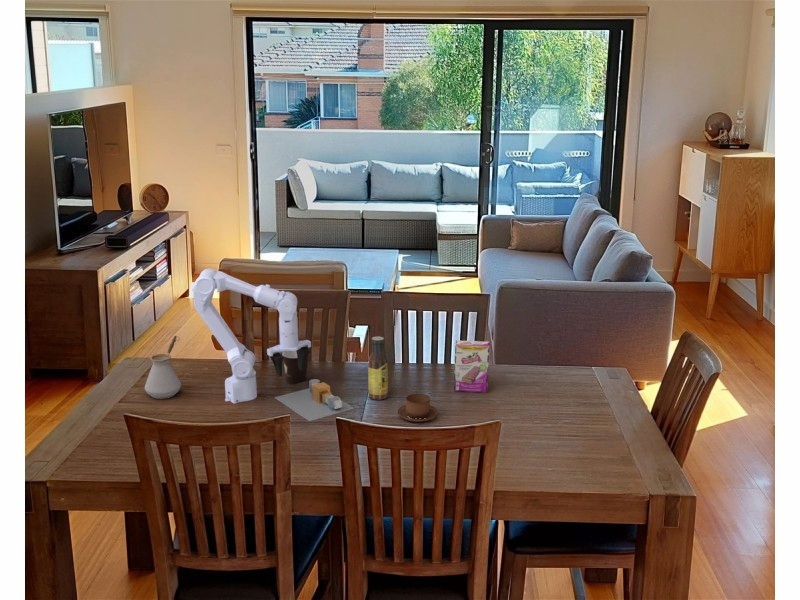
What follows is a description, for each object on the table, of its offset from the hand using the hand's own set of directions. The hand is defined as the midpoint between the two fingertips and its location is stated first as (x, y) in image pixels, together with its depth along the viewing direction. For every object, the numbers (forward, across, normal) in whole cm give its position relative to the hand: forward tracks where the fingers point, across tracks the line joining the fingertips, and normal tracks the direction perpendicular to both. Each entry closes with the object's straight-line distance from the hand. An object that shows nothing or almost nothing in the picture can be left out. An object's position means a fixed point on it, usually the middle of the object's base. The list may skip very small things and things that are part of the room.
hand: (290, 372), depth 277 cm
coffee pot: (+10, -28, +32) cm, 44 cm away
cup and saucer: (+10, +25, -34) cm, 43 cm away
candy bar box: (+10, +52, -27) cm, 59 cm away
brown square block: (+8, +6, -9) cm, 13 cm away
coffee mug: (+10, +10, +14) cm, 20 cm away
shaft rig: (+8, +7, -9) cm, 14 cm away
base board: (+9, +3, -9) cm, 13 cm away
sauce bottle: (+10, +24, -14) cm, 29 cm away
